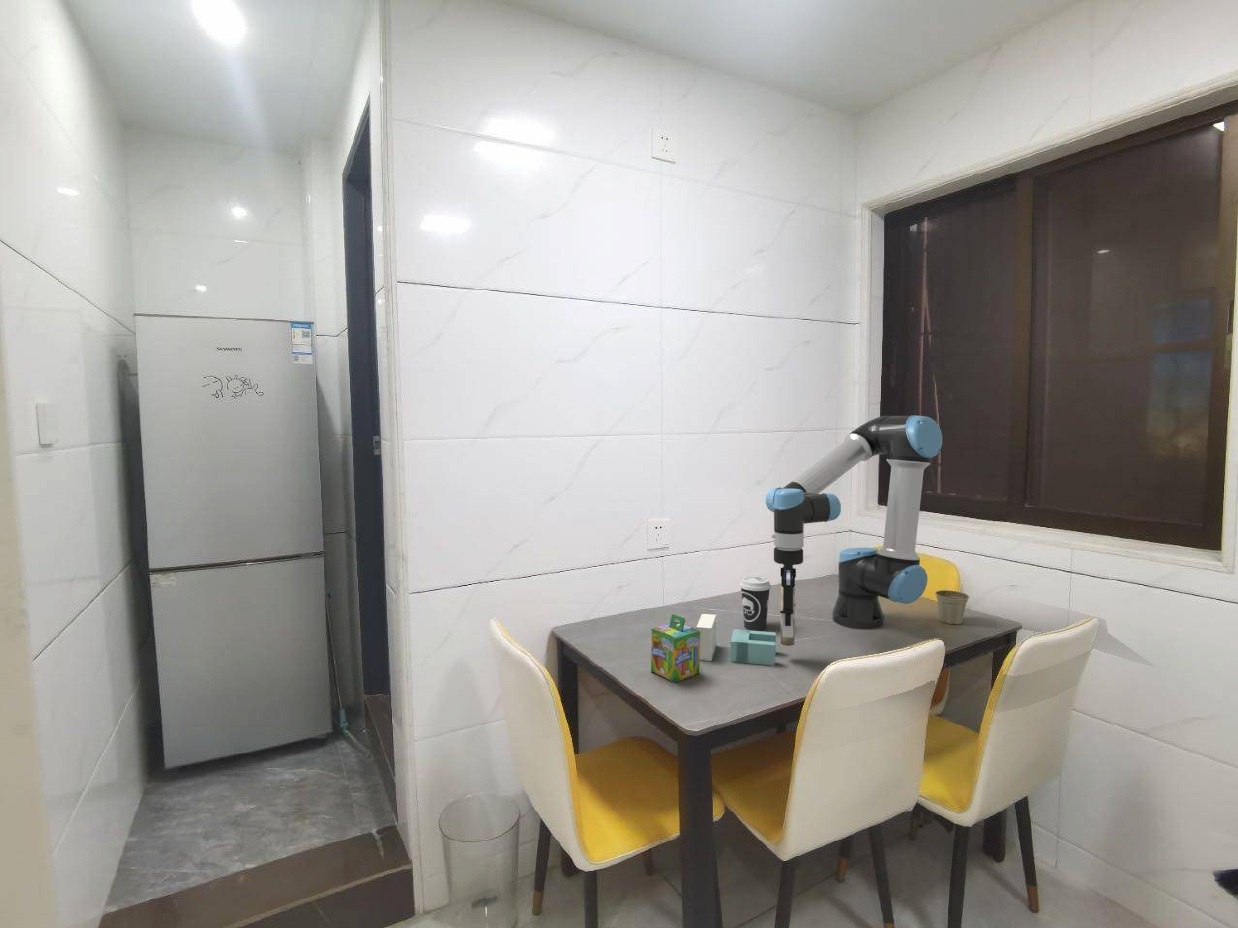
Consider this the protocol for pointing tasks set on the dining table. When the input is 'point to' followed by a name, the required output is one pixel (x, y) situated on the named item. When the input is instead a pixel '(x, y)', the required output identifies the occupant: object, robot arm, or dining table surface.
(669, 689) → the dining table surface
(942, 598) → the flower pot
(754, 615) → the coffee cup
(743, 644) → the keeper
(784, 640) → the dowel
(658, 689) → the dining table surface
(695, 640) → the chalk box
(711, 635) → the wall
